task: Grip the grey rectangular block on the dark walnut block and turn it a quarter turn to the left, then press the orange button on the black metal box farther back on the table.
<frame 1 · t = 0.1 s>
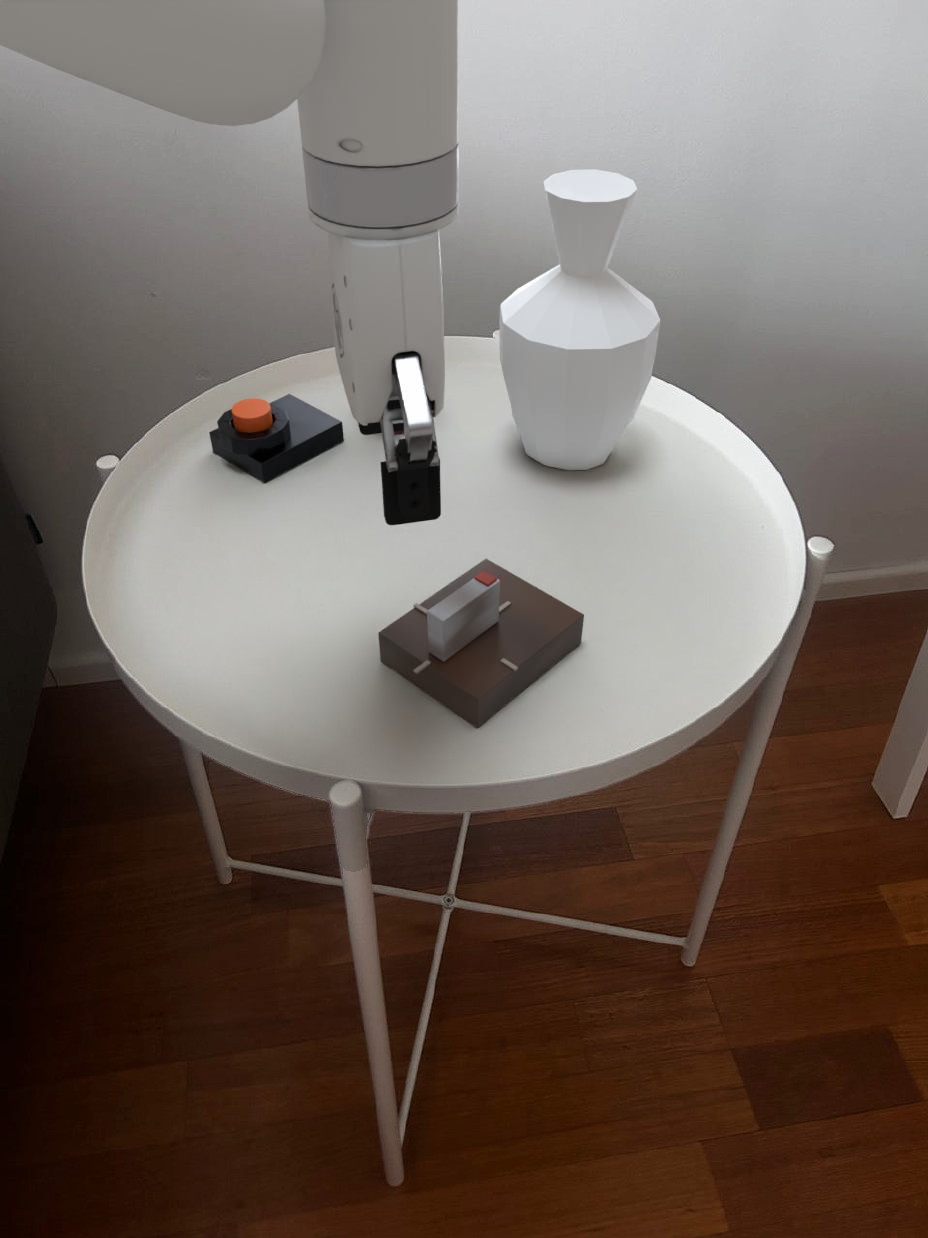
hand: (397, 472, 61), 19 cm above the table, tool pointing down, fingers open, 9 cm apart
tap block: (481, 652, 77), on the table
grey rectangular block: (464, 614, 73), point 5 cm above the table, hinge at 0.0°
vase: (567, 450, 99), on the table
button box: (278, 446, 99), on the table
button: (252, 416, 95), point 4 cm above the table, slide at 0.1 cm
cup: (395, 422, 102), on the table
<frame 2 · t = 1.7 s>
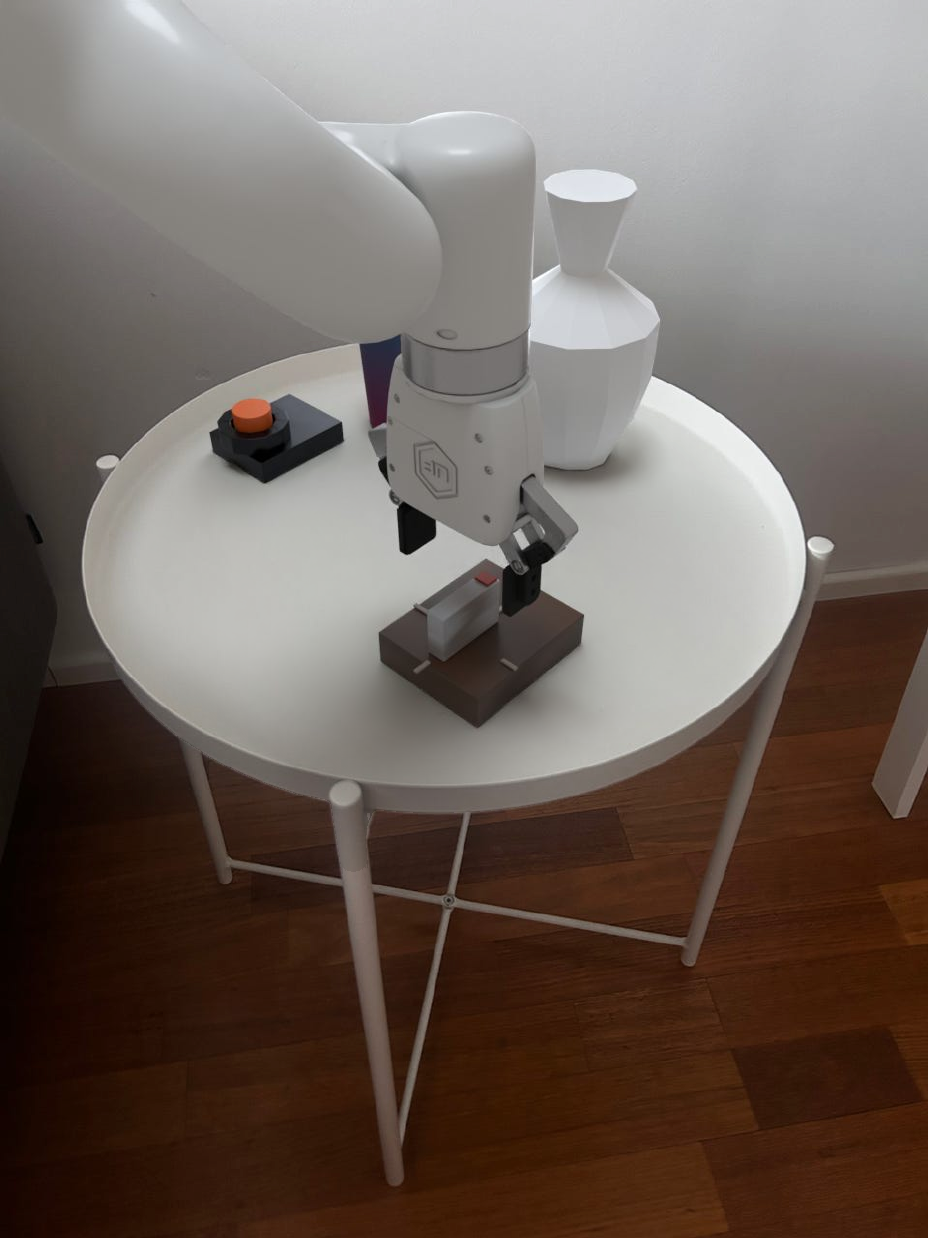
hand: (467, 574, 70), 9 cm above the table, tool pointing down, fingers open, 9 cm apart
nothing on the table moved.
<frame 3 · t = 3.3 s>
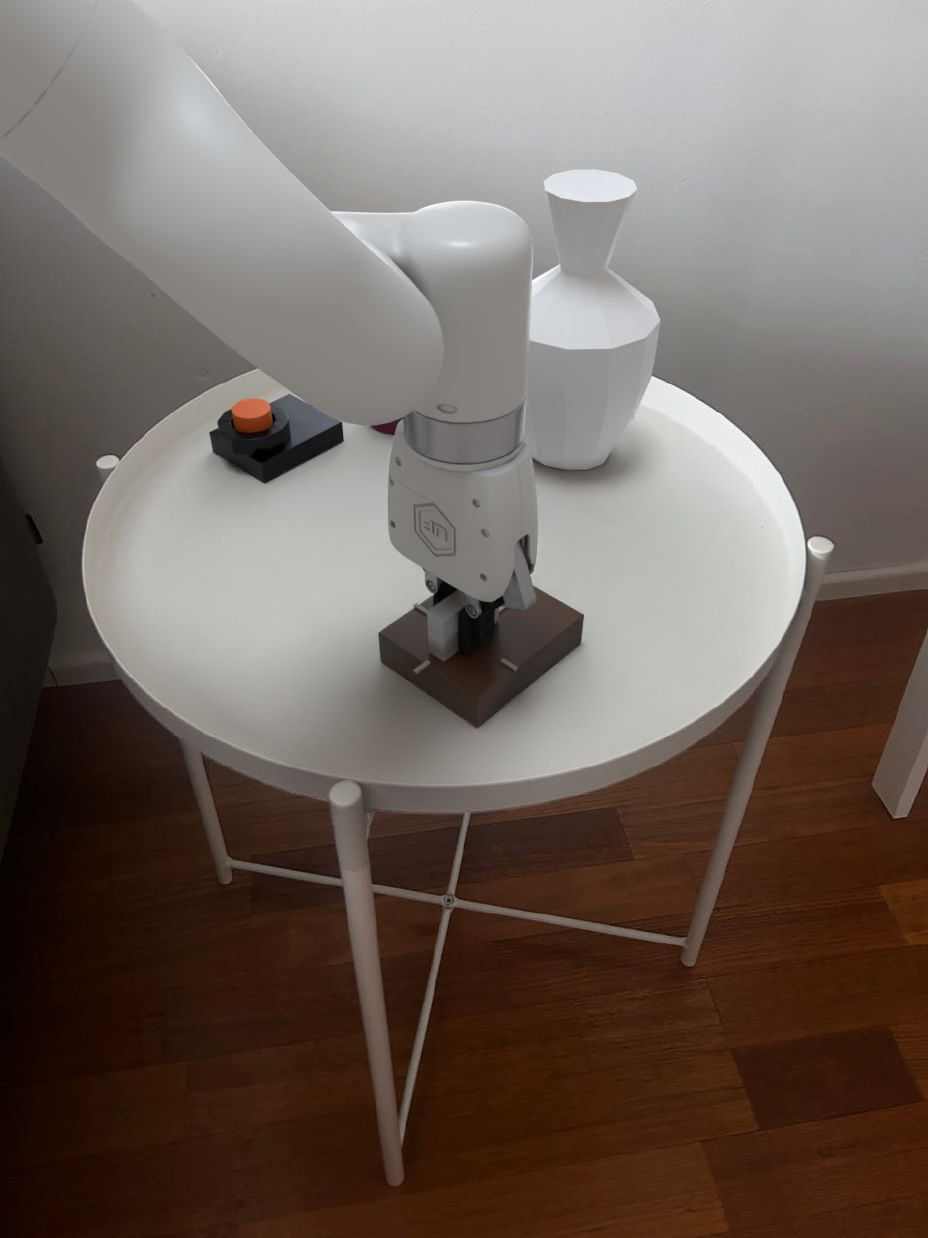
hand: (464, 635, 74), 3 cm above the table, tool pointing down, fingers closed
nothing on the table moved.
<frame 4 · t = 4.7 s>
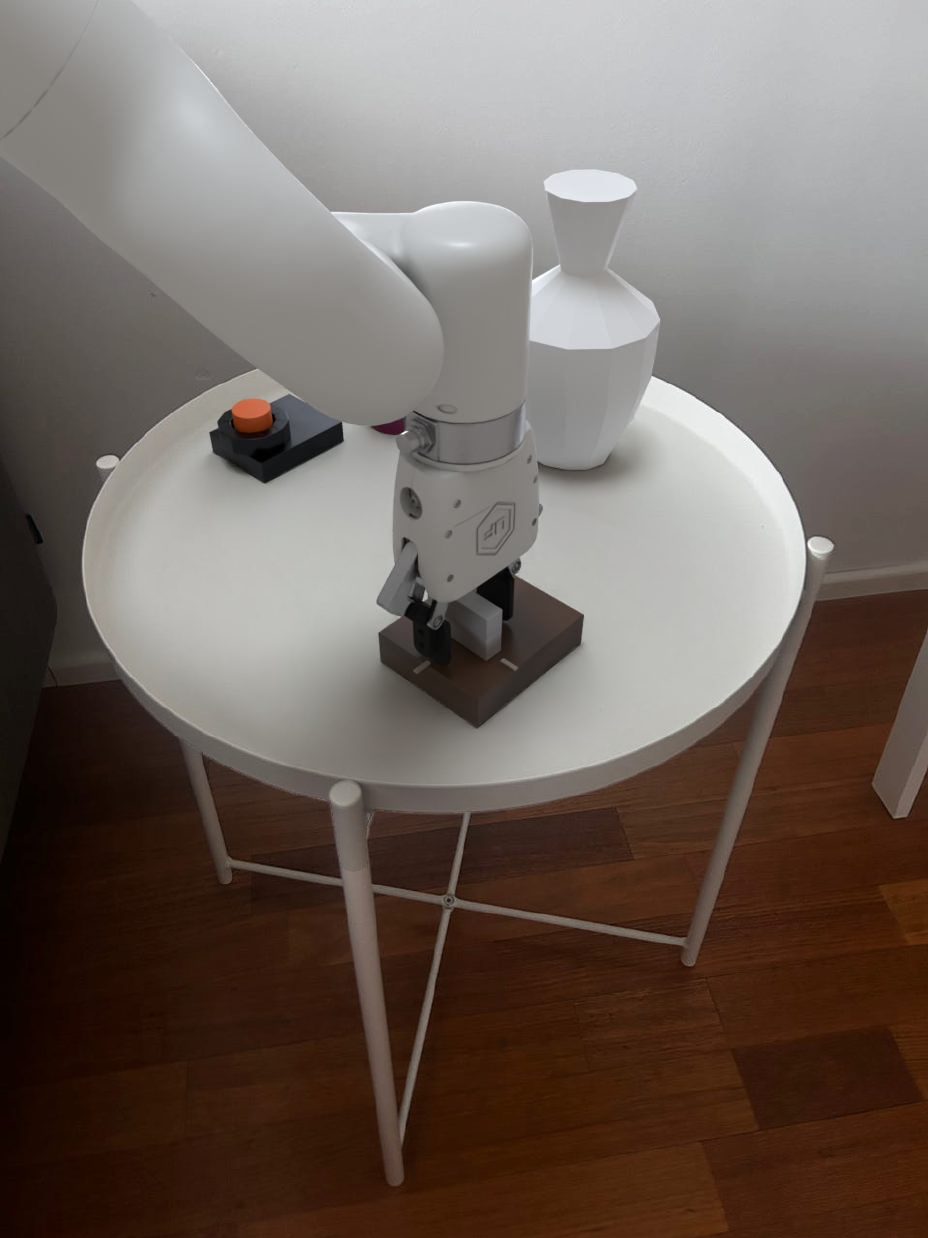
hand: (464, 631, 74), 4 cm above the table, tool pointing down, fingers open, 5 cm apart
grey rectangular block: (464, 614, 73), point 5 cm above the table, hinge at 88.5°
everything else where it was.
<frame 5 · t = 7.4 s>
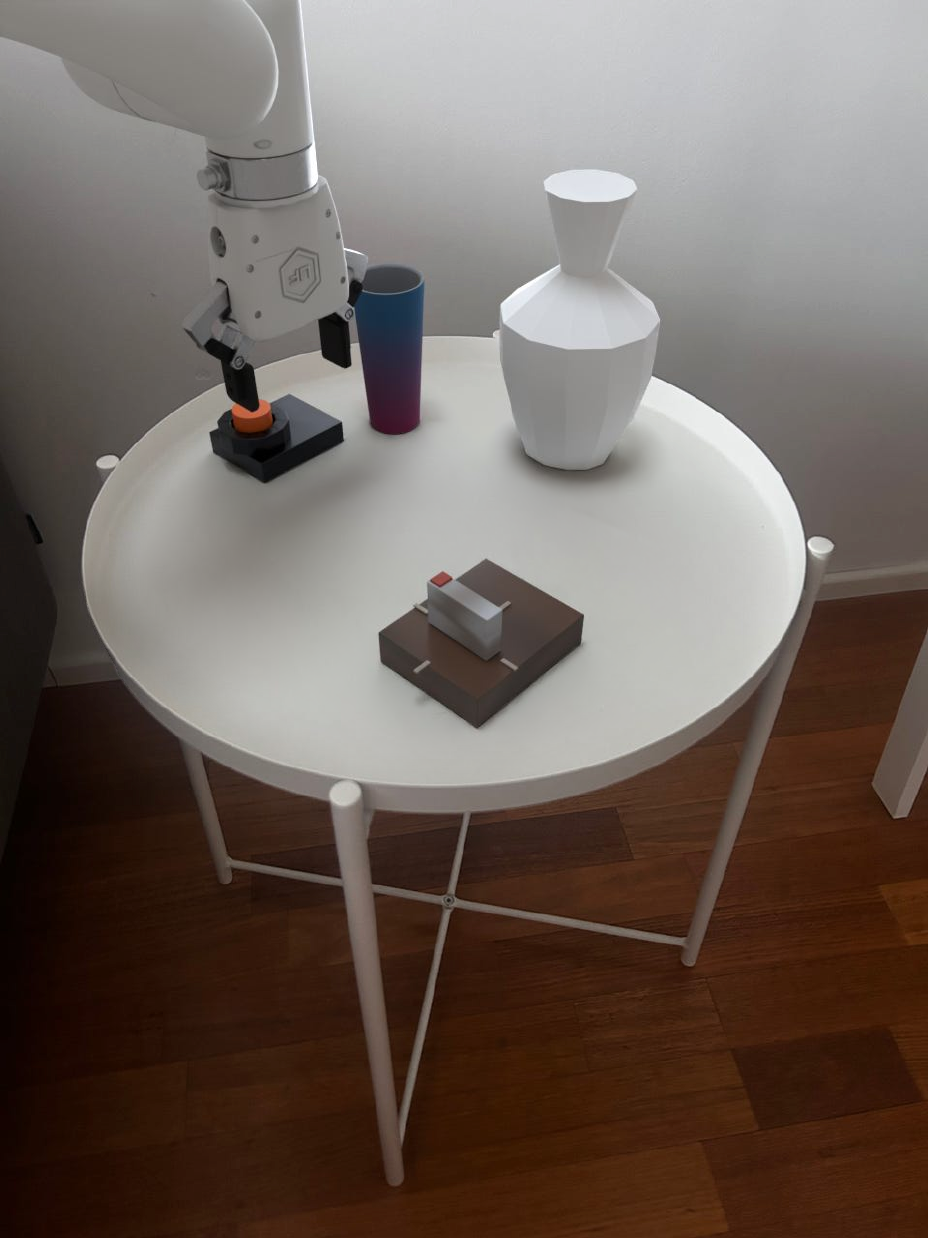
hand: (292, 383, 84), 12 cm above the table, tool pointing down, fingers open, 9 cm apart
nothing on the table moved.
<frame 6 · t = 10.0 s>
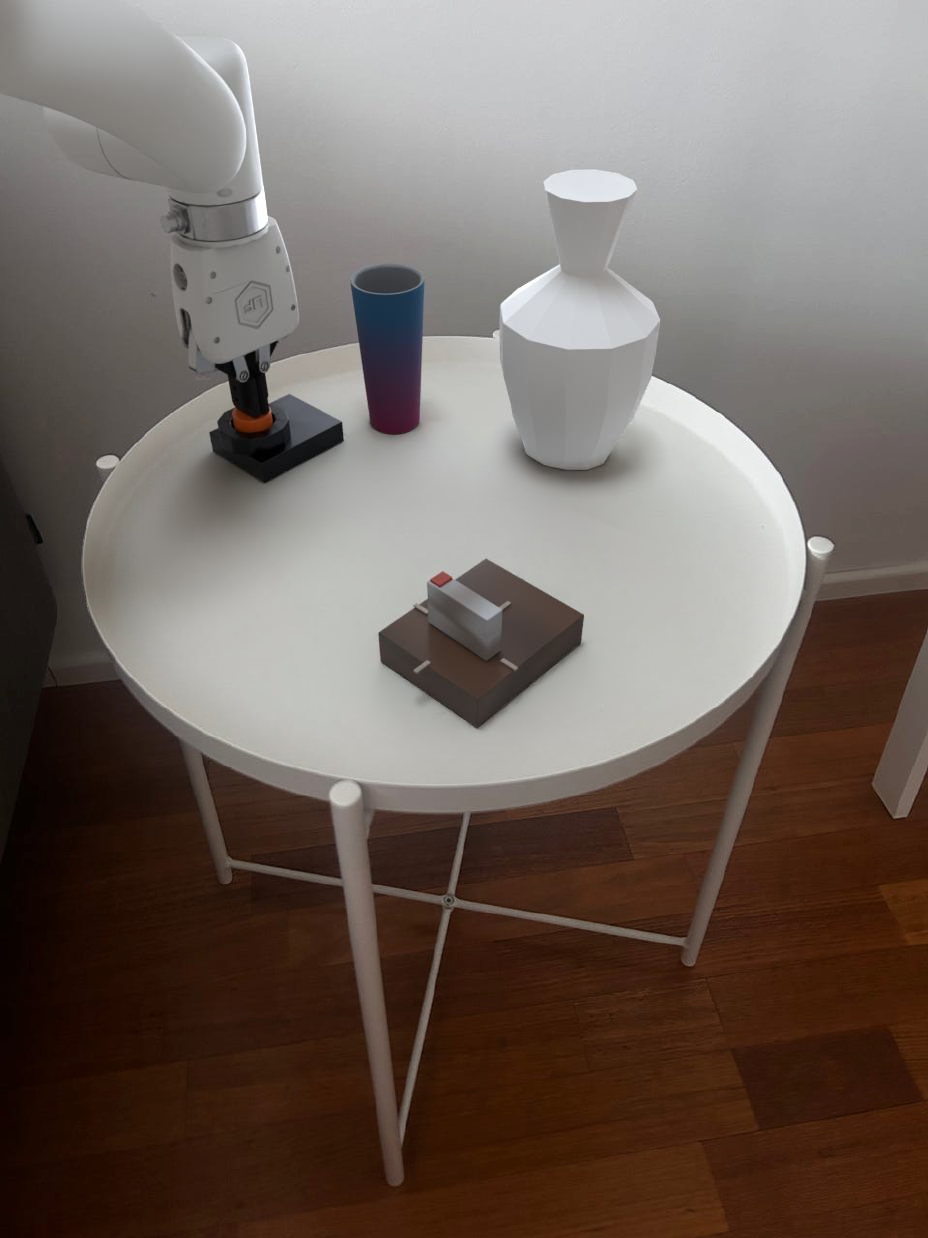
hand: (252, 410, 94), 5 cm above the table, tool pointing down, fingers closed
button: (252, 419, 95), point 4 cm above the table, slide at -0.3 cm, touching gripper
everything else where it was.
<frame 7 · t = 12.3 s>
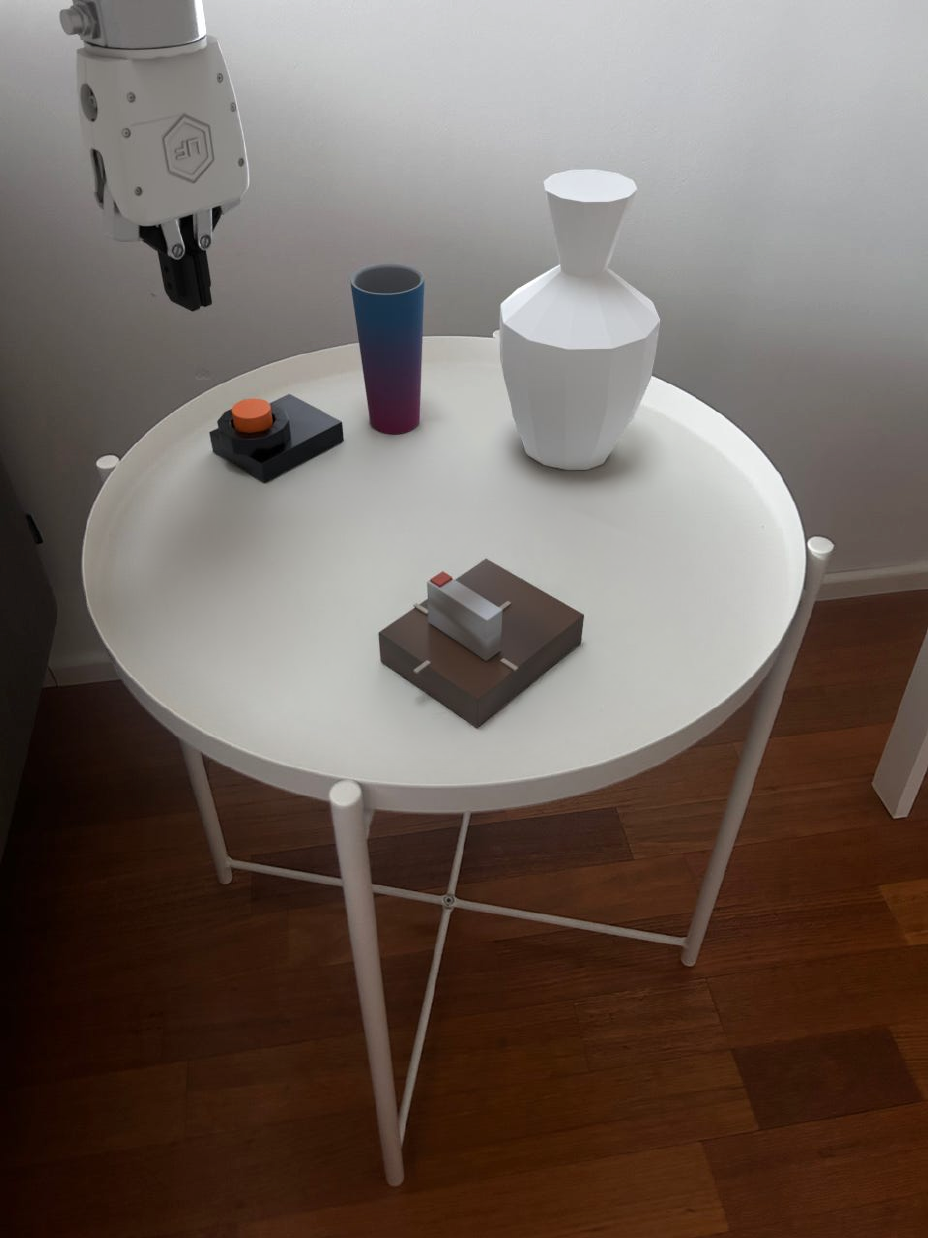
hand: (190, 302, 75), 21 cm above the table, tool pointing down, fingers closed
button: (252, 416, 95), point 4 cm above the table, slide at 0.1 cm
everything else where it was.
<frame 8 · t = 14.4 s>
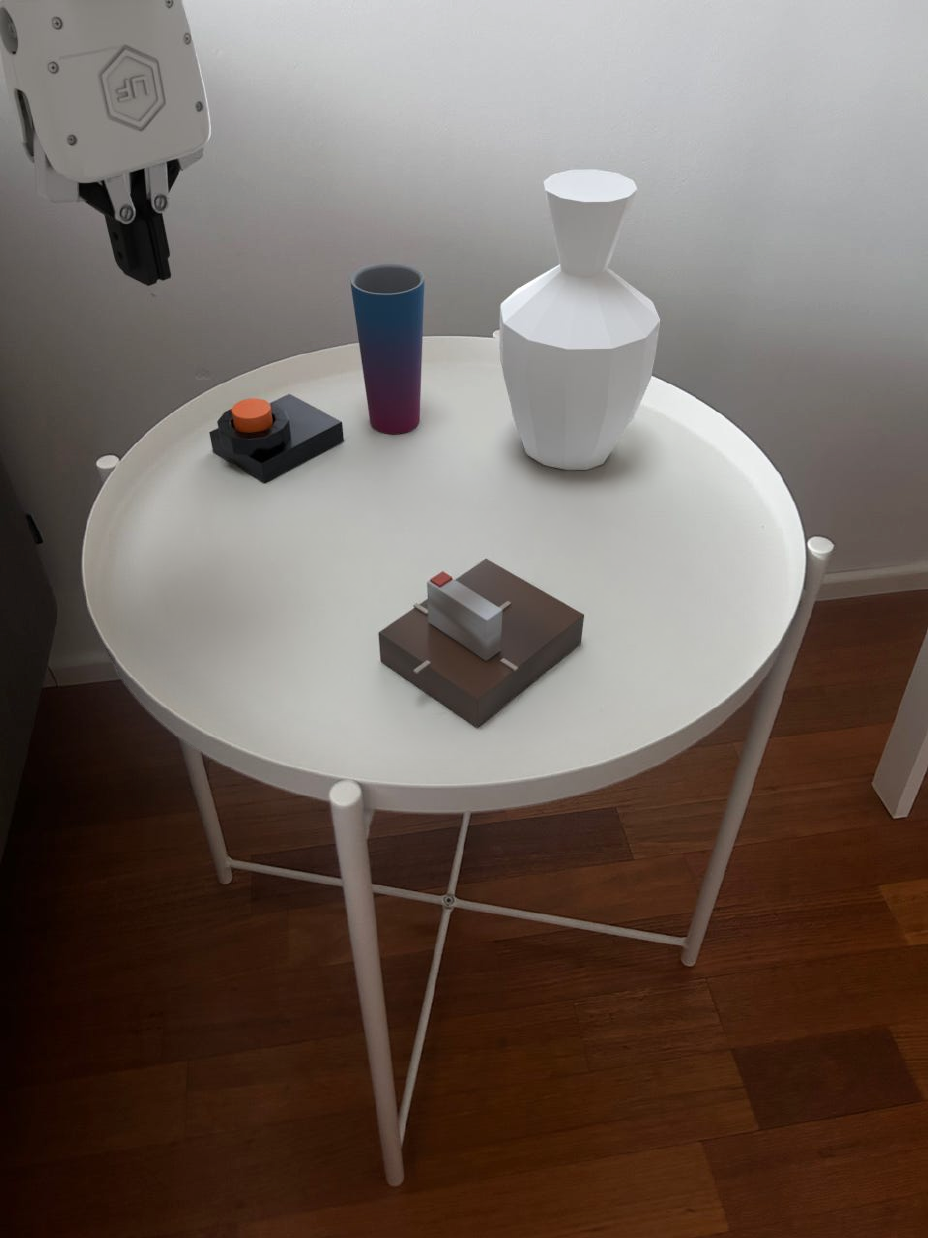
hand: (146, 275, 64), 27 cm above the table, tool pointing down, fingers closed
nothing on the table moved.
at the end: grey rectangular block at +88° (first picture: +0°); button pushed in 1.1 cm at the most during the clip, back to where it started at the end; button slide at 0.1 cm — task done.
